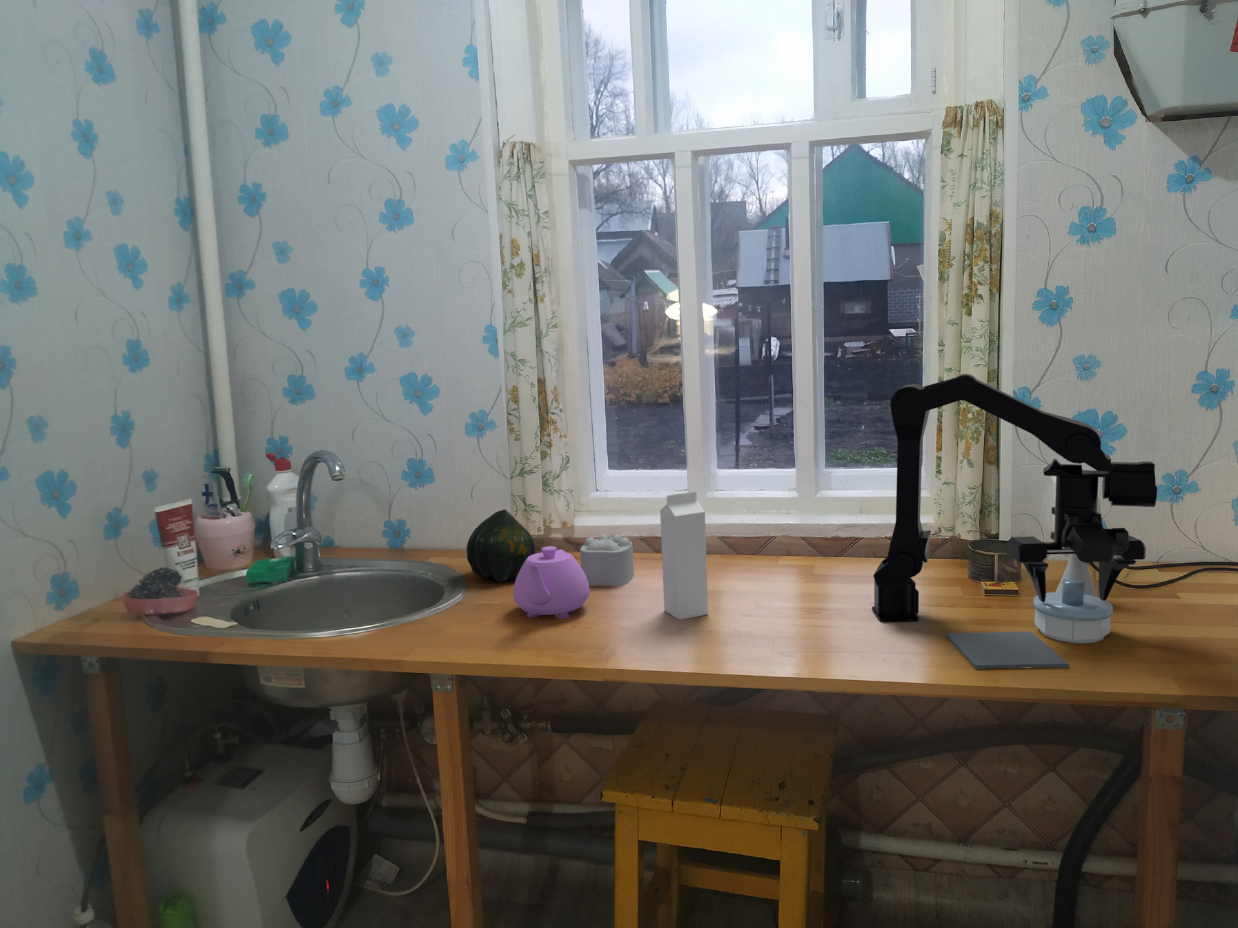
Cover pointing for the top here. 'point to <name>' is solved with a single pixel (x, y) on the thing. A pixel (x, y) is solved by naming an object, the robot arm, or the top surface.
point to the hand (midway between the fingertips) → (1072, 600)
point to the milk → (684, 556)
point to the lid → (1074, 603)
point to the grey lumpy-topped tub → (607, 560)
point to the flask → (1078, 575)
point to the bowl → (1072, 629)
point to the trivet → (1005, 650)
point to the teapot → (550, 584)
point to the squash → (499, 547)
